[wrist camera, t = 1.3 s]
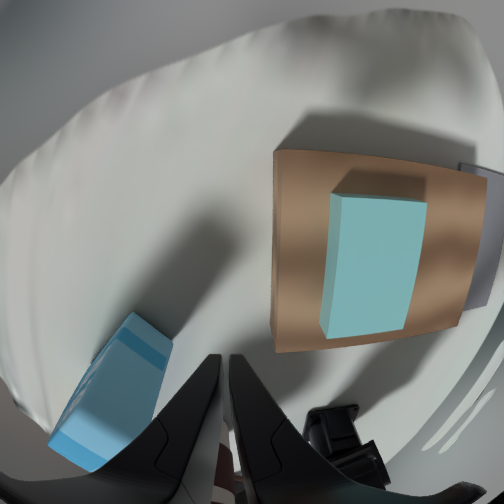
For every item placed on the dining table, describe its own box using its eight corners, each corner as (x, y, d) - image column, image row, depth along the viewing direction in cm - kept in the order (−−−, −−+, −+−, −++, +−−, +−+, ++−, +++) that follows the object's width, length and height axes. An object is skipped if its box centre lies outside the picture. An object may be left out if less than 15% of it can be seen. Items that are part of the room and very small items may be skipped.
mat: (485, 304, 25) (486, 305, 24) (433, 315, 24) (435, 316, 24) (508, 177, 20) (510, 177, 19) (459, 162, 19) (461, 163, 19)
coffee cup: (159, 437, 29) (141, 532, 14) (155, 392, 26) (124, 512, 11) (233, 448, 30) (235, 544, 15) (245, 406, 27) (252, 530, 12)
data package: (137, 304, 22) (78, 406, 11) (177, 336, 23) (145, 447, 12) (87, 368, 25) (44, 448, 13) (119, 391, 26) (87, 475, 14)
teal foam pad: (391, 315, 19) (402, 328, 17) (319, 322, 19) (326, 338, 17) (410, 197, 16) (427, 202, 14) (330, 192, 16) (342, 196, 14)
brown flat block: (436, 307, 24) (457, 326, 20) (270, 324, 23) (275, 353, 19) (458, 173, 20) (487, 177, 16) (273, 151, 19) (281, 149, 15)
